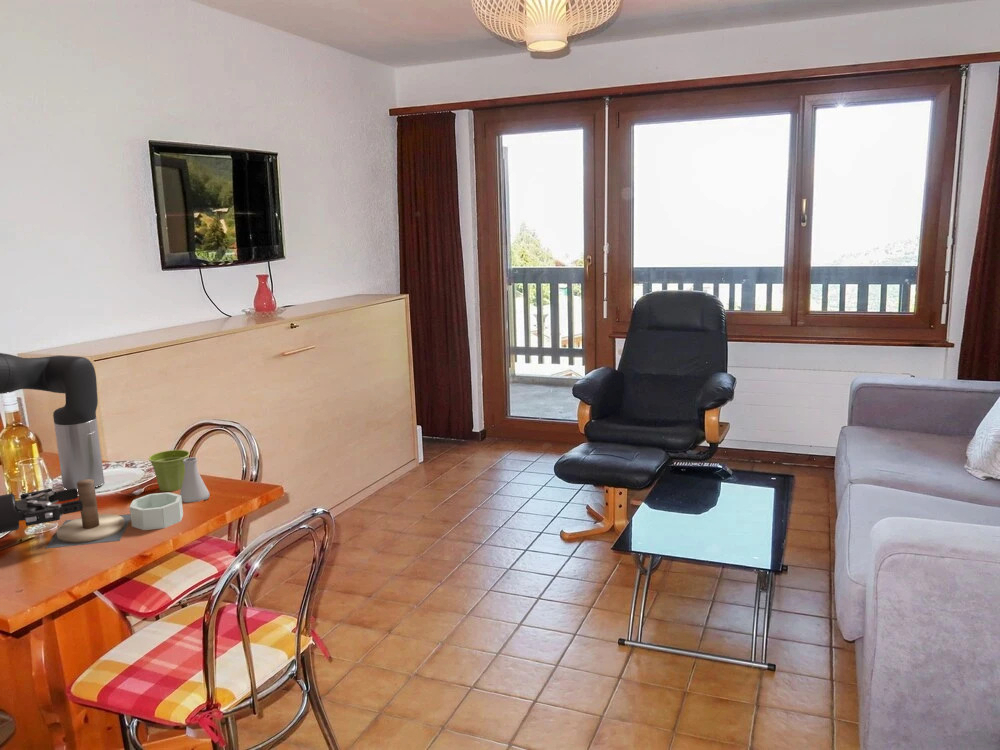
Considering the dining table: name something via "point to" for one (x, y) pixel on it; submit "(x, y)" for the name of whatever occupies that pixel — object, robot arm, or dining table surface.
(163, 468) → the plant pot
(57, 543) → the mat
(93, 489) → the lid
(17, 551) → the dining table surface
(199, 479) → the flask
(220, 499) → the dining table surface
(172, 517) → the bowl
